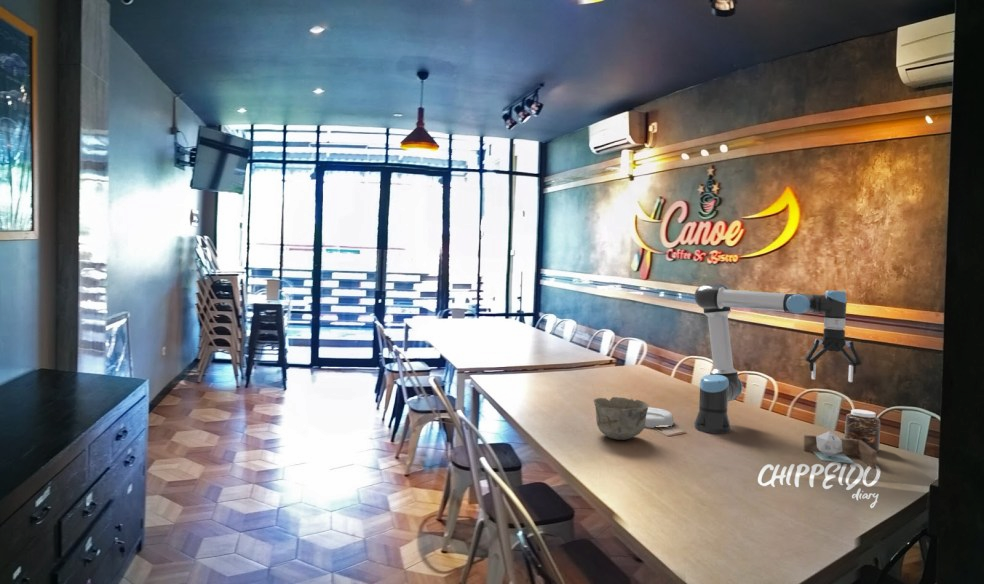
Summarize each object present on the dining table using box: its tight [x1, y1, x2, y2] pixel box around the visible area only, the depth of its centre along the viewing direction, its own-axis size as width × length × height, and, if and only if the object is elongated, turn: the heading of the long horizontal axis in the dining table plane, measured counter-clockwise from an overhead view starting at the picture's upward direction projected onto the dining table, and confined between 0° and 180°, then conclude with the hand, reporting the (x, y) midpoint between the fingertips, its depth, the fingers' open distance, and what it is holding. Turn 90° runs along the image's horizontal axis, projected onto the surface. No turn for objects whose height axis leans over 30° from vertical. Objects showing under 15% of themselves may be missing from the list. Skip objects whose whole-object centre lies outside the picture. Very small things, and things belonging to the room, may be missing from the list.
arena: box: [803, 434, 878, 469], centre depth 222 cm, size 20×16×6 cm
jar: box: [844, 408, 881, 453], centre depth 237 cm, size 12×12×15 cm
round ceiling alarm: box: [644, 406, 674, 429], centre depth 267 cm, size 25×25×6 cm
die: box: [815, 430, 842, 457], centre depth 223 cm, size 8×9×10 cm
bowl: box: [593, 396, 650, 441], centre depth 240 cm, size 22×22×15 cm
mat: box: [813, 451, 855, 465], centre depth 223 cm, size 11×11×1 cm
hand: (831, 380), depth 240 cm, fingers open, 13 cm apart
